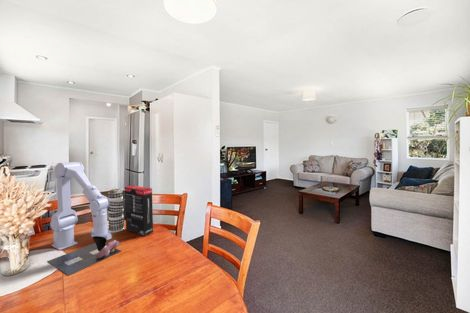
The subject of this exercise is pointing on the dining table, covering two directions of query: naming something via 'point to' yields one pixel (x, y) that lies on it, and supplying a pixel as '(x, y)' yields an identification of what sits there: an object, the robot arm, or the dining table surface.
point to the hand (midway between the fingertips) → (101, 250)
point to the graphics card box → (139, 209)
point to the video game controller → (107, 249)
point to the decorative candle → (115, 211)
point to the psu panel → (79, 259)
